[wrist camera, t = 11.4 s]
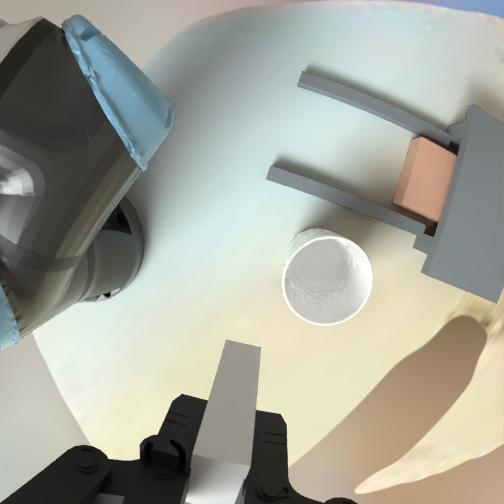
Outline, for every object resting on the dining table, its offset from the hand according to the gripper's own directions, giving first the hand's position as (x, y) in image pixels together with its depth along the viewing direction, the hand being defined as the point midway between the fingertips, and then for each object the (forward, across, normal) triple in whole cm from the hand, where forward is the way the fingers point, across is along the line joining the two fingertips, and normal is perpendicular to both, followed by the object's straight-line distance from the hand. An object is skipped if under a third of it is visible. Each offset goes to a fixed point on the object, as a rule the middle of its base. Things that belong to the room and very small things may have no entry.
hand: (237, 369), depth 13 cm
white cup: (+24, +6, +1) cm, 25 cm away
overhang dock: (+23, +15, +13) cm, 31 cm away
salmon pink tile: (+23, +21, +12) cm, 34 cm away
